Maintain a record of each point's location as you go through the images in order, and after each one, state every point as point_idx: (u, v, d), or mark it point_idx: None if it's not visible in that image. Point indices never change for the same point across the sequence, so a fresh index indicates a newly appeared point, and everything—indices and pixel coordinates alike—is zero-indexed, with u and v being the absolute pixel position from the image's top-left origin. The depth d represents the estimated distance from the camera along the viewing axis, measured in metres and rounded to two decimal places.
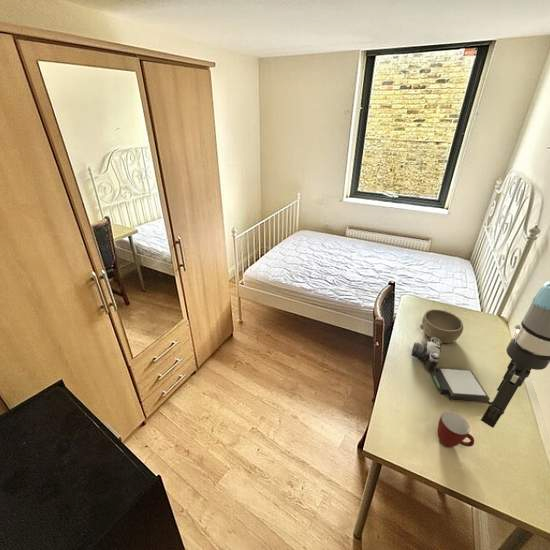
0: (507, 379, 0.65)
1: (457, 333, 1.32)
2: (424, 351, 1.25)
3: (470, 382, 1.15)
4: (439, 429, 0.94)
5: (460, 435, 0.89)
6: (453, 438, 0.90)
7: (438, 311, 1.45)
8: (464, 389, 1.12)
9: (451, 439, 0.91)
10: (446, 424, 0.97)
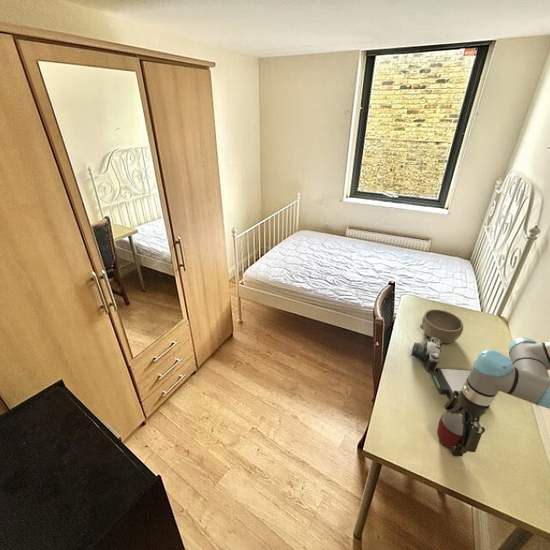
0: (474, 432, 0.83)
1: (457, 333, 1.32)
2: (424, 351, 1.24)
3: None
4: (439, 430, 0.94)
5: (460, 436, 0.88)
6: (453, 439, 0.90)
7: (438, 311, 1.45)
8: None
9: (451, 440, 0.90)
10: (446, 424, 0.97)
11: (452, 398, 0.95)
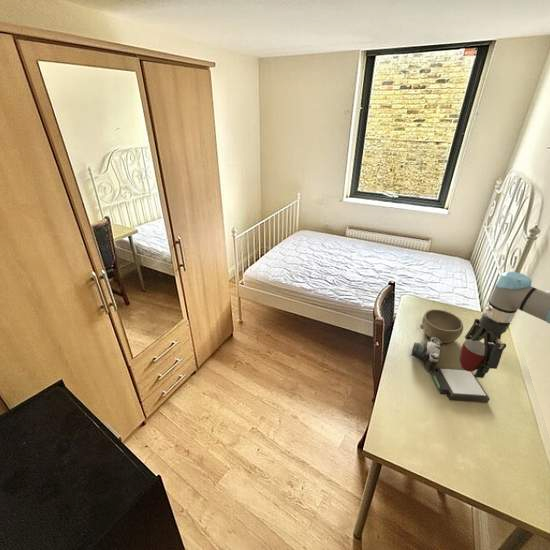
0: (497, 348, 0.92)
1: (457, 333, 1.32)
2: (424, 351, 1.24)
3: (470, 382, 1.15)
4: (462, 355, 1.03)
5: (482, 356, 0.97)
6: (476, 360, 0.99)
7: (438, 311, 1.45)
8: (464, 389, 1.12)
9: (474, 361, 0.99)
10: None
11: (473, 326, 1.04)
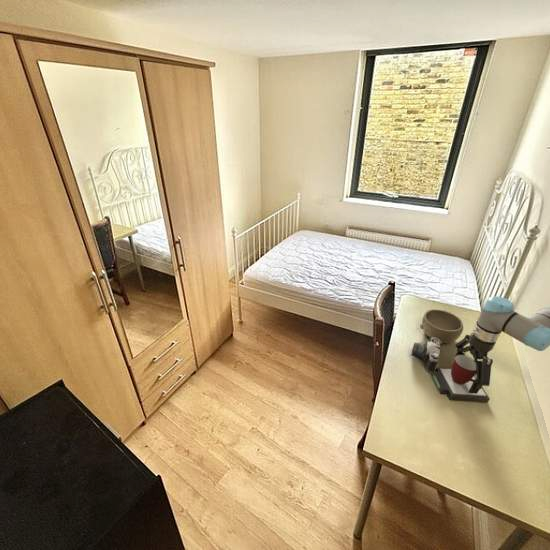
0: (485, 364, 1.01)
1: (457, 333, 1.32)
2: (424, 351, 1.24)
3: (470, 382, 1.15)
4: (453, 369, 1.12)
5: (471, 371, 1.07)
6: (465, 374, 1.08)
7: (438, 311, 1.45)
8: (464, 389, 1.12)
9: (463, 375, 1.09)
10: None
11: (463, 340, 1.13)
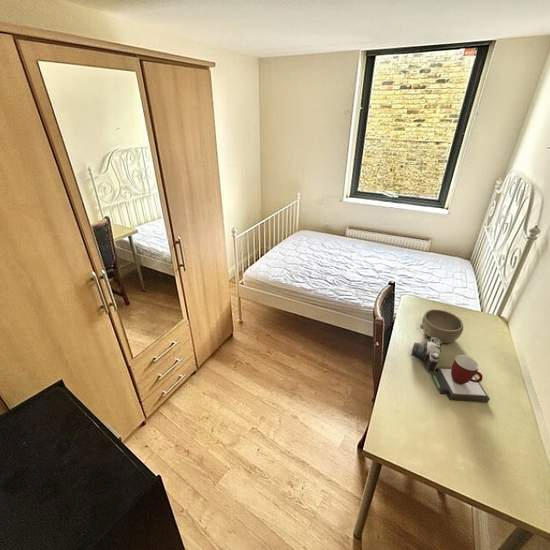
0: None
1: (457, 333, 1.32)
2: (424, 351, 1.25)
3: (470, 382, 1.15)
4: (453, 369, 1.12)
5: (471, 371, 1.07)
6: (465, 374, 1.08)
7: (438, 311, 1.45)
8: (464, 389, 1.12)
9: (463, 375, 1.09)
10: None
11: None
